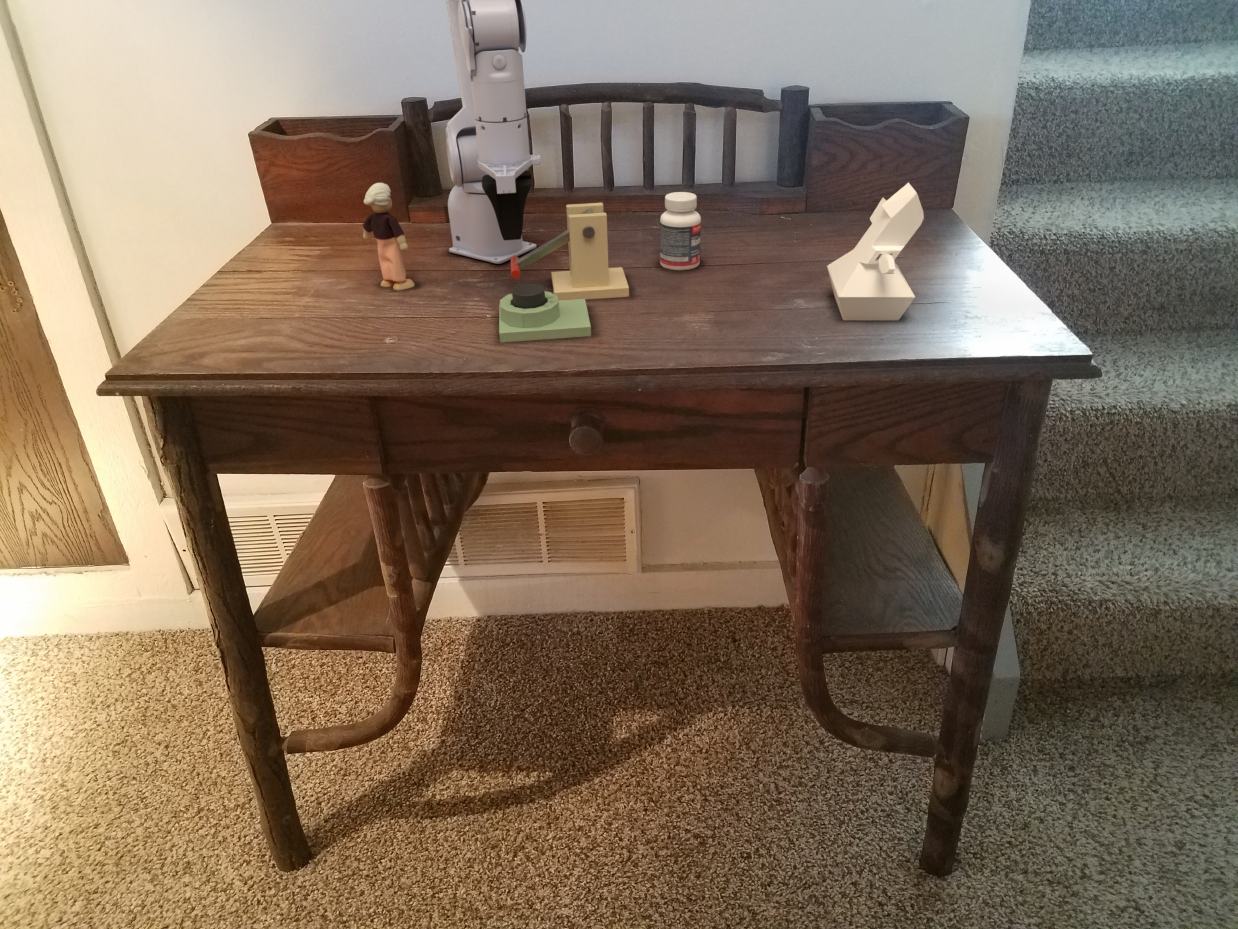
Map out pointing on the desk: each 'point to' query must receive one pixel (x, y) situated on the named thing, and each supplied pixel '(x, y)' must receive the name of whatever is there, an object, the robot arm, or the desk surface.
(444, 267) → the desk surface
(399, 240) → the grandmother figurine
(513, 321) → the button box
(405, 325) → the desk surface
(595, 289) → the bracket
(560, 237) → the lever
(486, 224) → the robot arm
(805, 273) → the desk surface
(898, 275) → the beige angled stand
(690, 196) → the pill bottle
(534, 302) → the button
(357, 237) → the desk surface
